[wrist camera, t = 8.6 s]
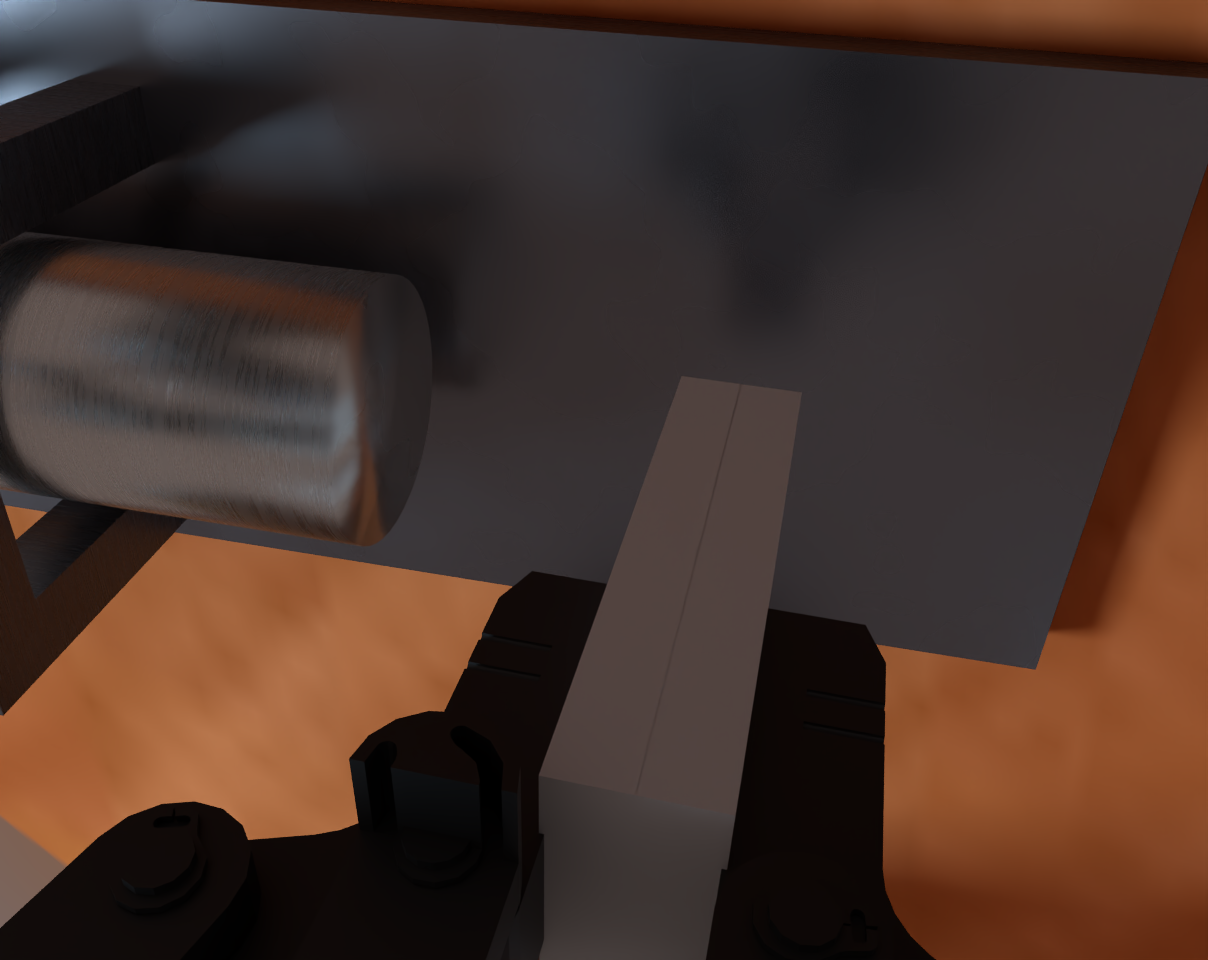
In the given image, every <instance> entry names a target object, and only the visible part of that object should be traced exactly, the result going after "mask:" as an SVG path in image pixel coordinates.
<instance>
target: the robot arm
mask: <svg viewBox="0 0 1208 960" xmlns="http://www.w3.org/2000/svg"><path fill="white" fill-rule="evenodd" d="M801 394H802V392H795V391H788V390H781V389H773V388H766V387H759V386H751V385H744V384H737V383H729V382H722V381H715V380H707V379H700V378H693V377H685V376H681V379H680V382H679V385H678V388H677V390H676V393H675V396H674V399H673V402H672V404H671V407H670V410H669V413H668V415H667V418H666V421H665V424H664V427H663V429H662V432H661V435H660V438H659V441H658V443H657V446H656V449H655V452H654V455H653V457H652V460H651V463H650V466H649V469H648V471H647V474H646V477H645V480H644V483H643V485H642V488H641V491H640V494H639V497H638V499H637V502H636V505H635V508H634V511H633V513H632V516H631V519H630V522H629V524H628V527H627V530H626V533H625V536H624V538H623V541H622V544H621V547H620V550H619V552H618V555H617V558H616V561H615V564H614V566H613V569H612V572H611V575H610V578H609V580H608V583H607V584H606V583H600V582H594V581H588V580H582V579H576V578H571V577H565V576H559V575H553V574H547V573H541V572H536V571H531V572H530V573H529V574H528V575H526V576H525V577H524V578H523V579H522V580H520V581H519V582H518V583H517V584H515V585H514V586H513V587H512V588H511V589H509V590H508V591H507V592H506V593H504V594H503V595H502V596H501V597H500V598H499V599H498V601H497V603H496V605H495V607H494V609H493V611H492V613H491V615H490V618H489V620H488V622H487V624H486V626H485V628H484V630H483V632H482V638H481V640H478V642H477V645H476V647H475V649H474V651H473V653H472V655H471V657H470V659H469V661H468V667H467V669H464V672H463V674H462V676H461V678H460V680H459V682H458V684H457V686H456V688H455V690H454V692H453V694H452V696H451V699H450V701H449V703H448V705H447V707H446V709H445V711H444V712H438V711H427V712H423V713H419V714H415V715H411V716H407V717H403V718H399V719H396V720H394V721H392V722H391V723H389V724H387V725H386V726H384V727H382V728H381V729H379V730H377V731H376V732H374V733H372V734H371V735H369V736H368V737H367V738H366V739H365V741H364V742H363V743H362V744H361V745H360V747H359V748H358V749H357V750H356V751H355V752H354V754H353V755H352V756H351V757H350V758H349V761H350V768H351V775H352V782H353V788H354V795H355V802H356V809H357V816H358V822H359V823H358V824H355V825H353V826H350V827H347V828H345V829H342V830H338V831H333V832H327V833H322V834H316V835H305V836H293V837H280V838H268V839H255V840H248V839H247V836H246V833H245V831H244V828H243V825H242V824H240V823H239V822H238V821H237V820H236V819H234V818H233V817H232V816H231V815H230V814H228V813H227V812H226V811H225V810H224V809H221V808H217V807H214V806H210V805H206V804H202V803H198V802H182V803H169V804H161V805H158V806H155V807H153V808H150V809H147V810H144V811H142V812H139V813H136V814H133V815H131V816H128V817H127V818H125V819H124V820H122V821H121V822H120V823H118V824H117V825H115V826H114V827H112V828H111V829H110V830H108V831H107V832H105V833H104V834H102V835H101V836H100V837H98V838H97V839H96V840H95V841H94V842H93V843H92V844H91V845H90V846H89V847H87V848H86V849H85V850H84V851H83V852H82V853H81V854H80V855H79V856H78V857H77V858H76V859H74V860H73V861H72V862H71V863H70V864H69V865H68V866H67V867H66V868H65V869H64V870H63V871H62V872H61V873H59V874H58V875H57V876H56V877H55V878H54V879H53V880H52V881H51V882H50V883H49V884H48V885H46V886H45V887H44V888H43V889H42V890H41V891H40V892H39V893H38V894H37V895H36V896H34V898H32V899H31V900H30V901H29V902H28V903H27V904H26V905H25V906H24V907H23V908H21V909H20V911H18V912H17V913H16V914H15V915H14V916H13V917H12V918H11V919H10V920H9V921H8V922H6V923H5V924H4V925H3V926H2V927H1V928H0V960H538V958H539V960H936V959H934V958H933V957H932V956H930V955H929V954H928V953H927V952H926V951H925V950H924V949H923V948H922V947H921V946H920V945H919V944H918V943H917V942H916V941H915V940H914V939H913V938H912V937H911V936H910V935H909V933H908V932H907V931H906V929H905V928H904V926H903V925H902V923H901V922H900V920H899V919H898V918H897V916H896V915H895V913H894V911H893V908H892V906H891V903H890V901H889V898H888V896H887V893H886V891H885V884H884V876H883V809H884V748H885V745H884V737H885V711H884V707H885V686H886V662H885V660H884V659H883V657H882V655H881V653H880V651H879V649H878V647H877V645H876V643H875V642H874V640H873V638H872V636H871V634H870V632H869V630H868V628H867V626H866V625H864V624H858V623H852V622H846V621H840V620H834V619H829V618H823V617H817V616H811V615H805V614H799V613H793V612H788V611H782V610H776V609H770V608H769V602H770V595H771V589H772V583H773V576H774V570H775V563H776V557H777V550H778V544H779V537H780V531H781V524H782V518H783V511H784V505H785V498H786V492H787V485H788V479H789V472H790V466H791V459H792V453H793V446H794V440H795V433H796V427H797V420H798V414H799V407H800V401H801Z"/></svg>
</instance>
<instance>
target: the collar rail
mask: <svg viewBox="0 0 1208 960" xmlns="http://www.w3.org/2000/svg"><path fill="white" fill-rule="evenodd" d="M1207 164H1208V63H1197V62H1183V61H1170V60H1157V59H1143V58H1130V57H1117V56H1103V55H1090V54H1076V53H1063V52H1050V51H1036V50H1023V49H1010V48H996V47H983V46H970V45H956V44H943V43H930V42H916V41H903V40H890V39H876V38H863V37H850V36H836V35H823V34H810V33H796V32H783V31H770V30H756V29H743V28H730V27H716V26H703V25H690V24H676V23H663V22H650V21H636V20H623V19H610V18H596V17H583V16H570V15H556V14H543V13H530V12H516V11H503V10H490V9H476V8H463V7H450V6H436V5H423V4H409V3H396V2H383V1H369V0H0V245H1V244H3V243H5V242H7V241H9V240H11V239H13V238H15V237H17V236H19V235H20V234H22V233H24V232H33V233H42V234H51V235H59V236H68V237H77V238H85V239H94V240H102V241H111V242H120V243H128V244H137V245H146V246H154V247H163V248H172V249H180V250H189V251H197V252H206V253H215V254H223V255H232V256H241V257H249V258H258V259H267V260H275V261H284V262H293V263H301V264H310V265H318V266H327V267H336V268H344V269H353V270H362V271H370V272H379V273H388V274H396V275H401V276H403V277H405V278H407V279H408V280H409V281H410V282H411V283H412V284H413V285H414V287H415V288H416V290H417V292H418V293H419V296H420V298H421V300H422V302H423V306H424V309H425V312H426V316H427V321H428V325H429V331H430V338H431V349H432V395H431V406H430V416H429V423H428V430H427V435H426V441H425V446H424V450H423V455H422V459H421V463H420V466H419V470H418V473H417V477H416V480H415V482H414V485H413V488H412V491H411V493H410V496H409V498H408V501H407V503H406V505H405V507H404V509H403V511H402V513H401V515H400V517H399V518H398V520H397V522H396V523H395V525H394V526H393V528H392V529H391V530H390V532H389V533H388V534H387V535H386V536H385V537H384V538H383V539H381V540H380V541H379V542H377V543H376V544H373V545H371V546H358V545H351V544H345V543H339V542H332V541H326V540H320V539H313V538H307V537H300V536H294V535H288V534H281V533H275V532H269V531H262V530H256V529H250V528H243V527H237V526H231V525H224V524H218V523H211V522H205V521H199V520H192V519H186V518H180V517H173V516H167V515H161V514H154V513H148V512H141V511H135V510H129V509H122V508H116V507H110V506H103V505H97V504H91V503H84V502H78V501H72V500H65V499H59V498H52V497H46V496H40V495H33V494H27V493H21V492H14V491H8V490H2V489H0V715H4V714H5V713H6V712H7V711H8V710H9V709H10V708H11V707H12V706H13V705H14V704H15V703H16V701H17V700H18V699H19V698H20V697H21V696H22V695H23V694H24V693H25V692H26V691H27V690H28V689H29V688H30V686H31V685H32V684H33V683H34V682H35V681H36V680H37V679H38V678H39V677H40V676H41V675H42V674H43V673H44V671H45V670H46V669H47V668H48V667H49V666H50V665H51V664H52V663H53V662H54V661H55V660H56V659H57V658H58V657H59V655H60V654H61V653H62V652H63V651H64V650H65V649H66V648H67V647H68V646H69V645H70V644H71V643H72V642H73V640H74V639H75V638H76V637H77V636H78V635H79V634H80V633H81V632H82V631H83V630H84V629H85V628H86V627H87V625H88V624H89V623H90V622H91V621H92V620H93V619H94V618H95V617H96V616H97V615H98V614H99V613H100V612H101V610H102V609H103V608H104V607H105V606H106V605H107V604H108V603H109V602H110V601H111V600H112V599H113V598H114V597H115V596H116V594H117V593H118V592H119V591H120V590H121V589H122V588H123V587H124V586H125V585H126V584H127V583H128V582H129V581H130V579H131V578H132V577H133V576H134V575H135V574H136V573H137V572H138V571H139V570H140V569H141V568H142V567H143V566H144V564H145V563H146V562H147V561H148V560H149V559H150V558H151V557H152V556H153V555H154V554H155V553H156V552H157V551H158V550H159V548H160V547H161V546H162V545H163V544H164V543H165V542H166V541H167V540H168V539H169V538H170V537H171V536H172V535H173V533H174V532H177V533H183V534H189V535H196V536H202V537H208V538H214V539H221V540H227V541H233V542H239V543H246V544H252V545H258V546H264V547H271V548H277V549H283V550H290V551H296V552H302V553H308V554H315V555H321V556H327V557H333V558H340V559H346V560H352V561H358V562H365V563H371V564H377V565H383V566H390V567H396V568H402V569H409V570H415V571H421V572H427V573H434V574H440V575H446V576H452V577H459V578H465V579H471V580H477V581H484V582H490V583H496V584H502V585H509V586H514V585H515V584H517V583H518V582H519V581H520V580H522V579H523V578H524V577H525V576H526V575H528V574H529V573H530V572H531V571H536V572H541V573H547V574H553V575H559V576H565V577H571V578H576V579H582V580H588V581H594V582H600V583H606V584H607V583H608V580H609V578H610V575H611V572H612V569H613V566H614V564H615V561H616V558H617V555H618V552H619V550H620V547H621V544H622V541H623V538H624V536H625V533H626V530H627V527H628V524H629V522H630V519H631V516H632V513H633V511H634V508H635V505H636V502H637V499H638V497H639V494H640V491H641V488H642V485H643V483H644V480H645V477H646V474H647V471H648V469H649V466H650V463H651V460H652V457H653V455H654V452H655V449H656V446H657V443H658V441H659V438H660V435H661V432H662V429H663V427H664V424H665V421H666V418H667V415H668V413H669V410H670V407H671V404H672V402H673V399H674V396H675V393H676V390H677V388H678V385H679V382H680V379H681V376H685V377H693V378H700V379H707V380H715V381H722V382H729V383H737V384H744V385H751V386H759V387H766V388H773V389H781V390H788V391H795V392H802V394H801V401H800V407H799V414H798V420H797V427H796V433H795V440H794V446H793V453H792V459H791V466H790V472H789V479H788V485H787V492H786V498H785V505H784V511H783V518H782V524H781V531H780V537H779V544H778V550H777V557H776V563H775V570H774V576H773V583H772V589H771V595H770V602H769V608H770V609H776V610H782V611H788V612H793V613H799V614H805V615H811V616H817V617H823V618H829V619H834V620H840V621H846V622H852V623H858V624H864V625H866V626H867V628H868V630H869V632H870V634H871V636H872V638H873V640H874V642H875V643H876V644H878V645H885V646H891V647H897V648H903V649H910V650H916V651H922V652H928V653H935V654H941V655H947V656H953V657H960V658H966V659H972V660H979V661H985V662H991V663H997V664H1004V665H1010V666H1016V667H1022V668H1029V669H1035V670H1036V667H1037V664H1038V661H1039V658H1040V655H1041V652H1042V649H1043V646H1044V643H1045V640H1046V637H1047V634H1048V631H1049V628H1050V625H1051V623H1052V620H1053V617H1054V614H1055V611H1056V608H1057V605H1058V602H1059V599H1060V596H1061V593H1062V590H1063V587H1064V584H1065V581H1066V578H1067V576H1068V573H1069V570H1070V567H1071V564H1072V561H1073V558H1074V555H1075V552H1076V549H1077V546H1078V543H1079V540H1080V537H1081V534H1082V531H1083V529H1084V526H1085V523H1086V520H1087V517H1088V514H1089V511H1090V508H1091V505H1092V502H1093V499H1094V496H1095V493H1096V490H1097V487H1098V485H1099V482H1100V479H1101V476H1102V473H1103V470H1104V467H1105V464H1106V461H1107V458H1108V455H1109V452H1110V449H1111V446H1112V443H1113V440H1114V438H1115V435H1116V432H1117V429H1118V426H1119V423H1120V420H1121V417H1122V414H1123V411H1124V408H1125V405H1126V402H1127V399H1128V396H1129V393H1130V391H1131V388H1132V385H1133V382H1134V379H1135V376H1136V373H1137V370H1138V367H1139V364H1140V361H1141V358H1142V355H1143V352H1144V349H1145V346H1146V344H1147V341H1148V338H1149V335H1150V332H1151V329H1152V326H1153V323H1154V320H1155V317H1156V314H1157V311H1158V308H1159V305H1160V302H1161V300H1162V297H1163V294H1164V291H1165V288H1166V285H1167V282H1168V279H1169V276H1170V273H1171V270H1172V267H1173V264H1174V261H1175V258H1176V255H1177V253H1178V250H1179V247H1180V244H1181V241H1182V238H1183V235H1184V232H1185V229H1186V226H1187V223H1188V220H1189V217H1190V214H1191V211H1192V208H1193V206H1194V203H1195V200H1196V197H1197V194H1198V191H1199V188H1200V185H1201V182H1202V179H1203V176H1204V173H1205V170H1206V167H1207ZM4 505H8V506H14V507H20V508H26V509H33V510H39V511H45V512H47V513H46V514H45V515H44V516H43V517H42V518H41V519H40V520H38V521H37V522H36V523H35V524H34V525H33V526H32V527H30V528H29V529H28V530H27V531H26V532H25V533H24V534H23V535H21V536H20V537H19V538H18V539H17V540H16V539H15V536H14V533H13V530H12V527H11V524H10V521H9V518H8V515H7V512H6V509H5V506H4Z"/></svg>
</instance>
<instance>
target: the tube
mask: <svg viewBox="0 0 1208 960" xmlns="http://www.w3.org/2000/svg"><path fill="white" fill-rule="evenodd" d="M431 395H432V349H431V338H430V331H429V325H428V321H427V316H426V312H425V309H424V306H423V302H422V300H421V298H420V296H419V293H418V292H417V290H416V288H415V287H414V285H413V284H412V283H411V282H410V281H409V280H408V279H407V278H405V277H403V276H401V275H396V274H388V273H379V272H370V271H362V270H353V269H344V268H336V267H327V266H318V265H310V264H301V263H293V262H284V261H275V260H267V259H258V258H249V257H241V256H232V255H223V254H215V253H206V252H197V251H189V250H180V249H172V248H163V247H154V246H146V245H137V244H128V243H120V242H111V241H102V240H94V239H85V238H77V237H68V236H59V235H51V234H42V233H33V232H24V233H22V234H20V235H19V236H17V237H15V238H13V239H11V240H9V241H7V242H5V243H3V244H1V245H0V489H2V490H8V491H14V492H21V493H27V494H33V495H40V496H46V497H52V498H59V499H65V500H72V501H78V502H84V503H91V504H97V505H103V506H110V507H116V508H122V509H129V510H135V511H141V512H148V513H154V514H161V515H167V516H173V517H180V518H186V519H192V520H199V521H205V522H211V523H218V524H224V525H231V526H237V527H243V528H250V529H256V530H262V531H269V532H275V533H281V534H288V535H294V536H300V537H307V538H313V539H320V540H326V541H332V542H339V543H345V544H351V545H358V546H371V545H373V544H376V543H377V542H379V541H380V540H381V539H383V538H384V537H385V536H386V535H387V534H388V533H389V532H390V530H391V529H392V528H393V526H394V525H395V523H396V522H397V520H398V518H399V517H400V515H401V513H402V511H403V509H404V507H405V505H406V503H407V501H408V498H409V496H410V493H411V491H412V488H413V485H414V482H415V480H416V477H417V473H418V470H419V466H420V463H421V459H422V455H423V450H424V446H425V441H426V435H427V430H428V423H429V416H430V406H431Z"/></svg>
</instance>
